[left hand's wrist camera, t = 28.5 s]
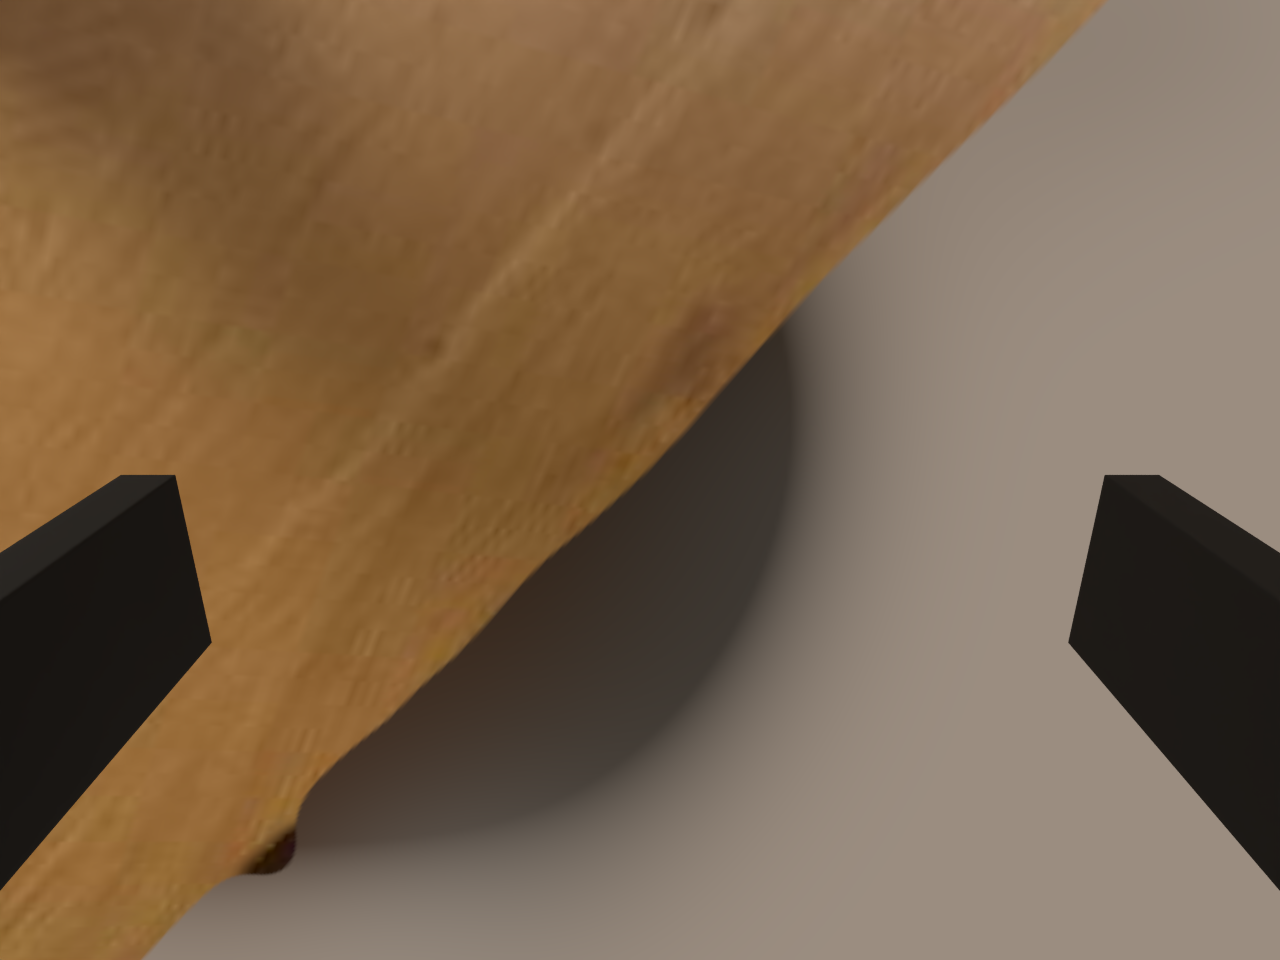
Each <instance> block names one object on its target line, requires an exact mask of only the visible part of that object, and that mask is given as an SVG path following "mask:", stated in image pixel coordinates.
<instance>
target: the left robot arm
mask: <svg viewBox="0 0 1280 960" xmlns="http://www.w3.org/2000/svg"><path fill="white" fill-rule="evenodd" d="M211 643H212V642H211V637H210V632H209V628H208V623H207V619H206V614H205V610H204V605H203V600H202V596H201V591H200V587H199V582H198V577H197V573H196V568H195V564H194V559H193V554H192V550H191V545H190V541H189V536H188V531H187V527H186V522H185V518H184V513H183V509H182V504H181V499H180V495H179V490H178V486H177V481H176V476H175V475H120V476H119V477H117V478H116V479H114V480H112V481H111V482H109V483H108V484H106V485H105V486H103V487H102V488H100V489H99V490H97V491H95V492H94V493H92V494H91V495H89V496H88V497H86V498H85V499H83V500H81V501H80V502H78V503H77V504H75V505H74V506H72V507H71V508H69V509H68V510H66V511H64V512H63V513H61V514H60V515H58V516H57V517H55V518H54V519H52V520H50V521H49V522H47V523H46V524H44V525H43V526H41V527H40V528H38V529H37V530H35V531H33V532H32V533H30V534H29V535H27V536H26V537H24V538H23V539H21V540H20V541H18V542H16V543H15V544H13V545H12V546H10V547H9V548H7V549H6V550H4V551H2V552H1V553H0V890H1V889H2V888H3V887H4V886H5V884H6V883H7V882H8V881H9V880H10V879H11V877H12V876H13V875H14V874H15V873H16V871H17V870H18V869H19V868H20V867H21V866H22V864H23V863H24V862H25V861H26V860H27V859H28V857H29V856H30V855H31V854H32V853H33V852H34V850H35V849H36V848H37V847H38V846H39V844H40V843H41V842H42V841H43V840H44V839H45V837H46V836H47V835H48V834H49V833H50V832H51V830H52V829H53V828H54V827H55V826H56V825H57V823H58V822H59V821H60V820H61V819H62V818H63V816H64V815H65V814H66V813H67V812H68V810H69V809H70V808H71V807H72V806H73V805H74V803H75V802H76V801H77V800H78V799H79V798H80V796H81V795H82V794H83V793H84V792H85V791H86V789H87V788H88V787H89V786H90V785H91V783H92V782H93V781H94V780H95V779H96V778H97V776H98V775H99V774H100V773H101V772H102V771H103V769H104V768H105V767H106V766H107V765H108V764H109V762H110V761H111V760H112V759H113V758H114V757H115V755H116V754H117V753H118V752H119V751H120V749H121V748H122V747H123V746H124V745H125V744H126V742H127V741H128V740H129V739H130V738H131V737H132V735H133V734H134V733H135V732H136V731H137V730H138V728H139V727H140V726H141V725H142V724H143V723H144V721H145V720H146V719H147V718H148V717H149V715H150V714H151V713H152V712H153V711H154V710H155V708H156V707H157V706H158V705H159V704H160V703H161V701H162V700H163V699H164V698H165V697H166V696H167V694H168V693H169V692H170V691H171V690H172V688H173V687H174V686H175V685H176V684H177V683H178V681H179V680H180V679H181V678H182V677H183V676H184V674H185V673H186V672H187V671H188V670H189V669H190V667H191V666H192V665H193V664H194V663H195V662H196V660H197V659H198V658H199V657H200V656H201V654H202V653H203V652H204V651H205V650H206V649H207V647H208V646H209V645H210V644H211ZM1068 643H1069V644H1070V645H1071V646H1072V647H1073V649H1074V650H1075V651H1076V652H1077V653H1078V654H1079V656H1080V657H1081V658H1082V659H1083V660H1084V661H1085V663H1086V664H1087V665H1088V666H1089V667H1090V669H1091V670H1092V671H1093V672H1094V673H1095V674H1096V676H1097V677H1098V678H1099V679H1100V680H1101V681H1102V683H1103V684H1104V685H1105V686H1106V687H1107V688H1108V690H1109V691H1110V692H1111V693H1112V694H1113V696H1114V697H1115V698H1116V699H1117V700H1118V701H1119V703H1120V704H1121V705H1122V706H1123V707H1124V708H1125V710H1126V711H1127V712H1128V713H1129V714H1130V715H1131V717H1132V718H1133V719H1134V720H1135V721H1136V722H1137V724H1138V725H1139V726H1140V727H1141V728H1142V729H1143V731H1144V732H1145V733H1146V734H1147V735H1148V737H1149V738H1150V739H1151V740H1152V741H1153V742H1154V744H1155V745H1156V746H1157V747H1158V748H1159V749H1160V751H1161V752H1162V753H1163V754H1164V755H1165V757H1166V758H1167V759H1168V760H1169V761H1170V762H1171V764H1172V765H1173V766H1174V767H1175V768H1176V769H1177V771H1178V772H1179V773H1180V774H1181V775H1182V776H1183V778H1184V779H1185V780H1186V781H1187V782H1188V783H1189V785H1190V786H1191V787H1192V788H1193V789H1194V791H1195V792H1196V793H1197V794H1198V795H1199V796H1200V798H1201V799H1202V800H1203V801H1204V802H1205V803H1206V805H1207V806H1208V807H1209V808H1210V809H1211V810H1212V812H1213V813H1214V814H1215V815H1216V816H1217V818H1218V819H1219V820H1220V821H1221V822H1222V823H1223V825H1224V826H1225V827H1226V828H1227V829H1228V830H1229V832H1230V833H1231V834H1232V835H1233V836H1234V837H1235V839H1236V840H1237V841H1238V842H1239V843H1240V844H1241V846H1242V847H1243V848H1244V849H1245V850H1246V852H1247V853H1248V854H1249V855H1250V856H1251V857H1252V859H1253V860H1254V861H1255V862H1256V863H1257V864H1258V866H1259V867H1260V868H1261V869H1262V870H1263V871H1264V873H1265V874H1266V875H1267V876H1268V877H1269V879H1270V880H1271V881H1272V882H1273V883H1274V884H1275V886H1276V887H1277V888H1278V889H1279V890H1280V553H1279V552H1278V551H1276V550H1274V549H1273V548H1271V547H1270V546H1268V545H1267V544H1265V543H1264V542H1262V541H1260V540H1259V539H1257V538H1256V537H1254V536H1253V535H1251V534H1250V533H1248V532H1247V531H1245V530H1243V529H1242V528H1240V527H1239V526H1237V525H1236V524H1234V523H1233V522H1231V521H1229V520H1228V519H1226V518H1225V517H1223V516H1222V515H1220V514H1219V513H1217V512H1216V511H1214V510H1212V509H1211V508H1209V507H1208V506H1206V505H1205V504H1203V503H1202V502H1200V501H1198V500H1197V499H1195V498H1194V497H1192V496H1191V495H1189V494H1188V493H1186V492H1185V491H1183V490H1181V489H1180V488H1178V487H1177V486H1175V485H1174V484H1172V483H1171V482H1169V481H1167V480H1166V479H1164V478H1163V477H1161V476H1160V475H1105V476H1104V481H1103V486H1102V490H1101V495H1100V499H1099V504H1098V509H1097V513H1096V518H1095V522H1094V527H1093V531H1092V536H1091V541H1090V545H1089V550H1088V554H1087V559H1086V564H1085V568H1084V573H1083V577H1082V582H1081V587H1080V591H1079V596H1078V600H1077V605H1076V610H1075V614H1074V619H1073V623H1072V628H1071V632H1070V637H1069V642H1068Z"/></svg>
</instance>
